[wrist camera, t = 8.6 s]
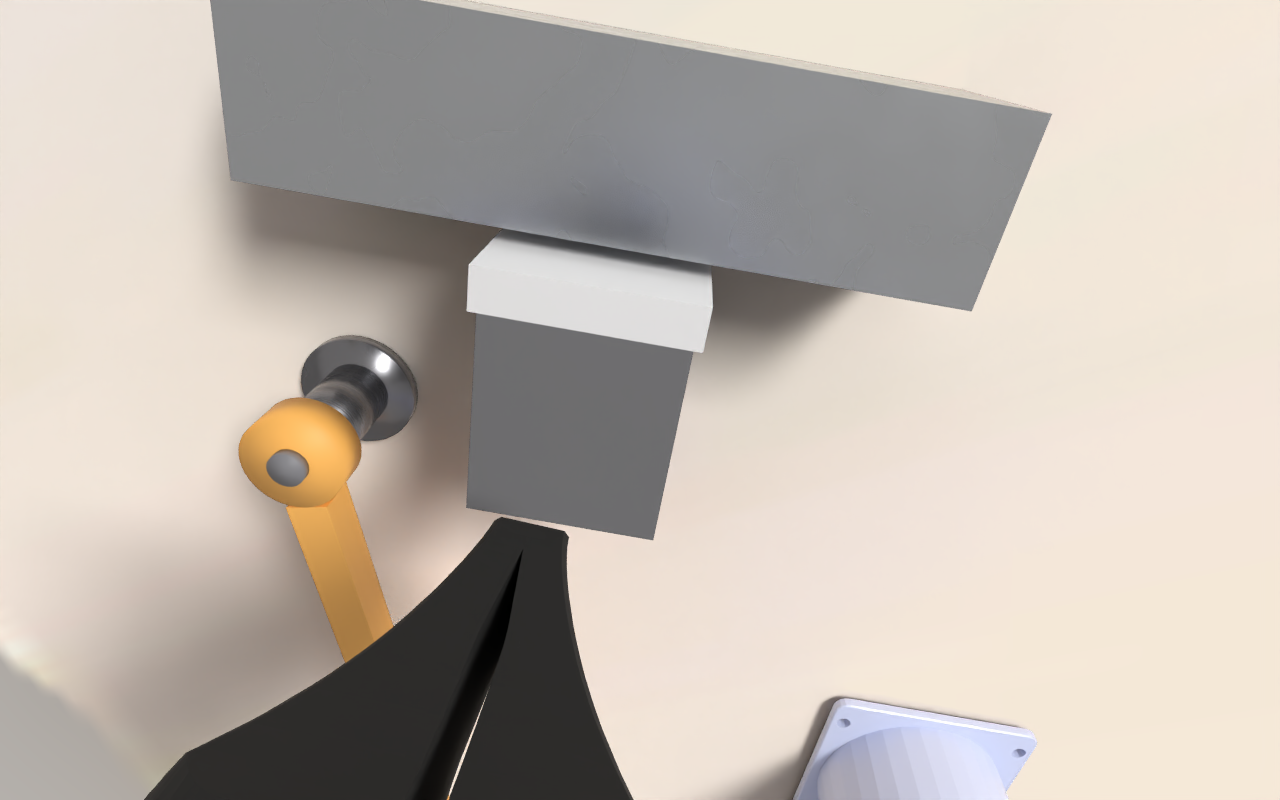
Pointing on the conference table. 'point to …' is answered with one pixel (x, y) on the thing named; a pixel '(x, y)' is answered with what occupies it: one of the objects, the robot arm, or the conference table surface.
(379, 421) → the lever handle base
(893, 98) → the socket
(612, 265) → the plug
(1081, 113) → the conference table surface
